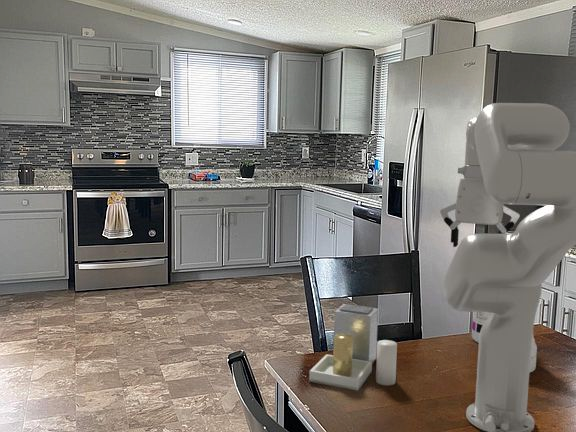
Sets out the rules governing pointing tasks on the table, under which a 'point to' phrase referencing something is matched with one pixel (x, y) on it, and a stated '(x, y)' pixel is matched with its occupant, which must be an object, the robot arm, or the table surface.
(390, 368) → the cylinder
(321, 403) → the table surface
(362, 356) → the grey box
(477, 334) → the supplement can
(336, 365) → the cylinder
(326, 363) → the tray
